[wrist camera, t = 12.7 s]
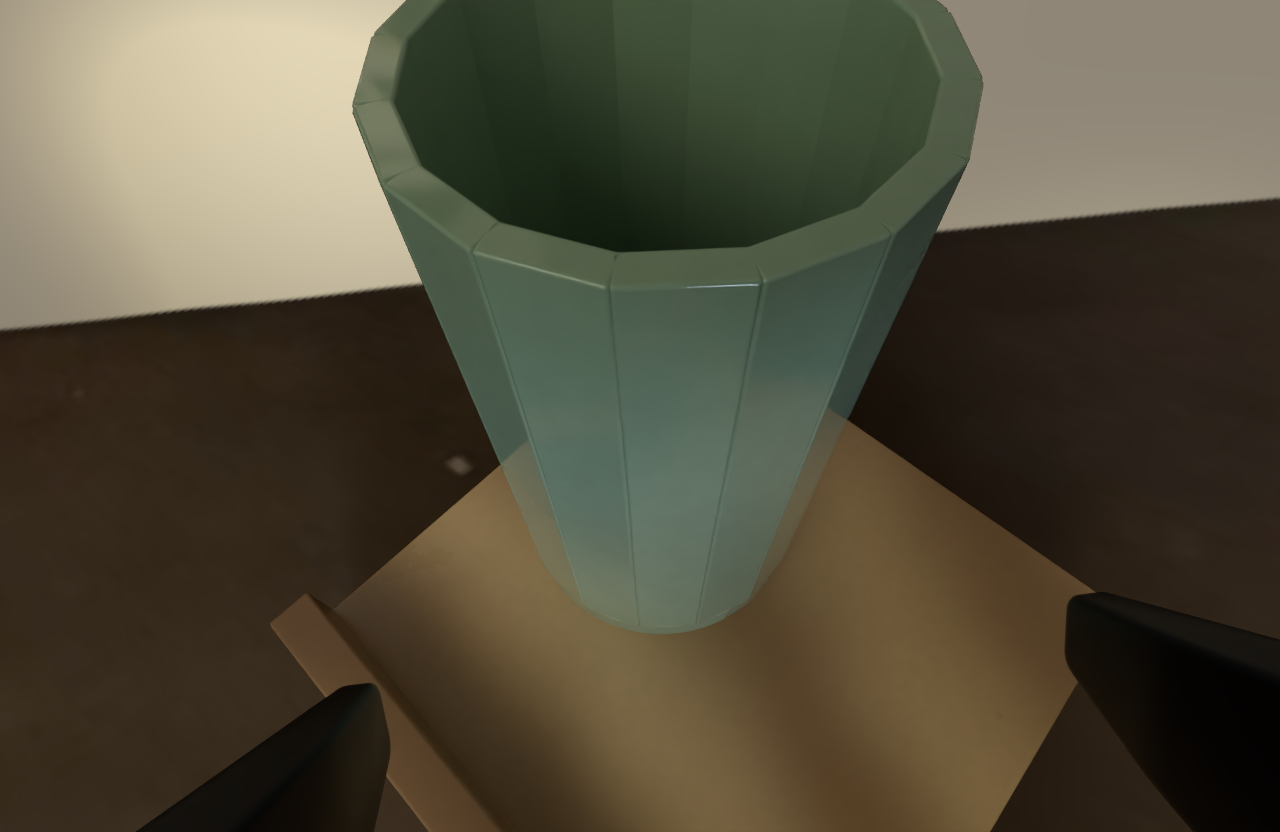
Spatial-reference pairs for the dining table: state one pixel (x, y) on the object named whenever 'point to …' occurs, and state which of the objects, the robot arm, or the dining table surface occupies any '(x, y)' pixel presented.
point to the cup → (666, 256)
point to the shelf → (714, 673)
